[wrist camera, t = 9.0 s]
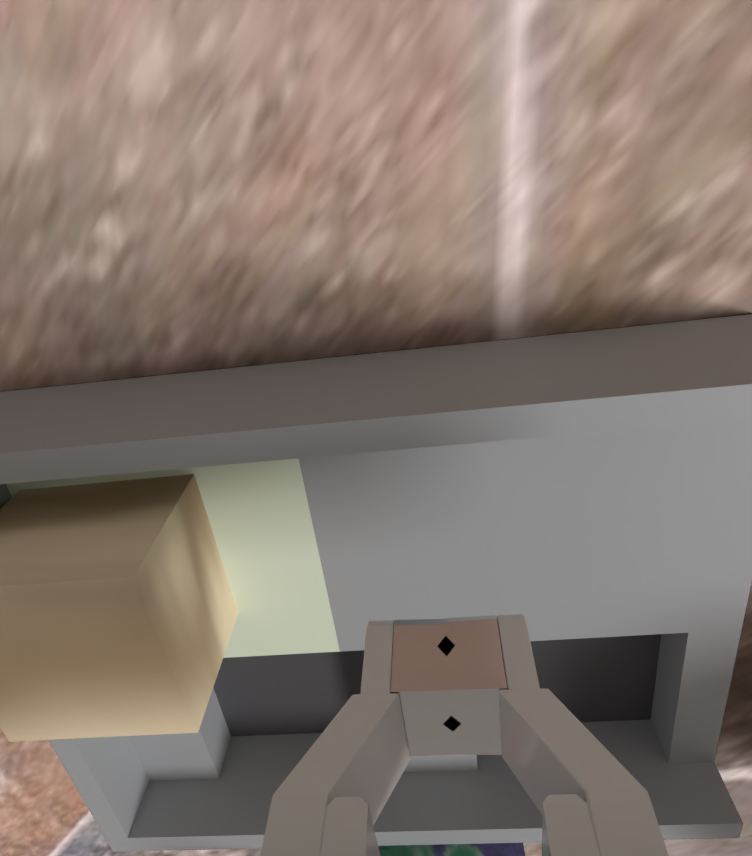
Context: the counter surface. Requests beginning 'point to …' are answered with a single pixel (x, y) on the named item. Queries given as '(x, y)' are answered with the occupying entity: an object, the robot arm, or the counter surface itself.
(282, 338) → the counter surface
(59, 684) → the maple block
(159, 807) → the grey compartment tray
